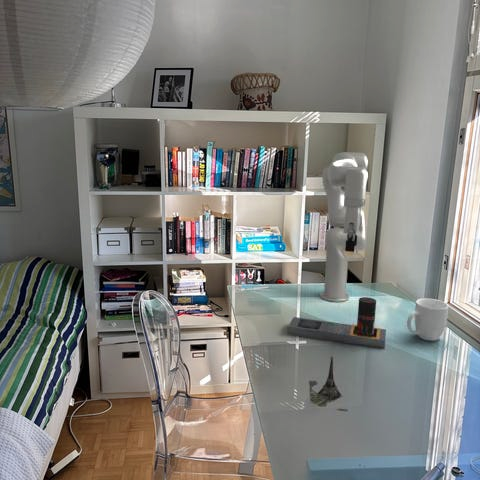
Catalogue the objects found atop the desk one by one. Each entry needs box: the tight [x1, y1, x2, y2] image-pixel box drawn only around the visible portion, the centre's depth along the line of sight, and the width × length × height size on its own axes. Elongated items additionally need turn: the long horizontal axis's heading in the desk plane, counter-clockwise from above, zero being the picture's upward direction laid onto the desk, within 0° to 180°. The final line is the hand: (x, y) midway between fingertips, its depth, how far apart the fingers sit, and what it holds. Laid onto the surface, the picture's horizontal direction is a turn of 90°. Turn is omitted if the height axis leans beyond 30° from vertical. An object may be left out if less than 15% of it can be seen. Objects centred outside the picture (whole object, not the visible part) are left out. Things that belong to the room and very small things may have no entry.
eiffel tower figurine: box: [309, 356, 348, 411], centre depth 135 cm, size 15×10×13 cm
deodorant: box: [355, 296, 377, 337], centre depth 171 cm, size 6×6×15 cm
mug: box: [406, 298, 449, 342], centre depth 174 cm, size 15×11×13 cm
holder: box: [287, 316, 387, 349], centre depth 175 cm, size 10×34×3 cm, turn 72°
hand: (351, 248), depth 180 cm, fingers open, 9 cm apart
